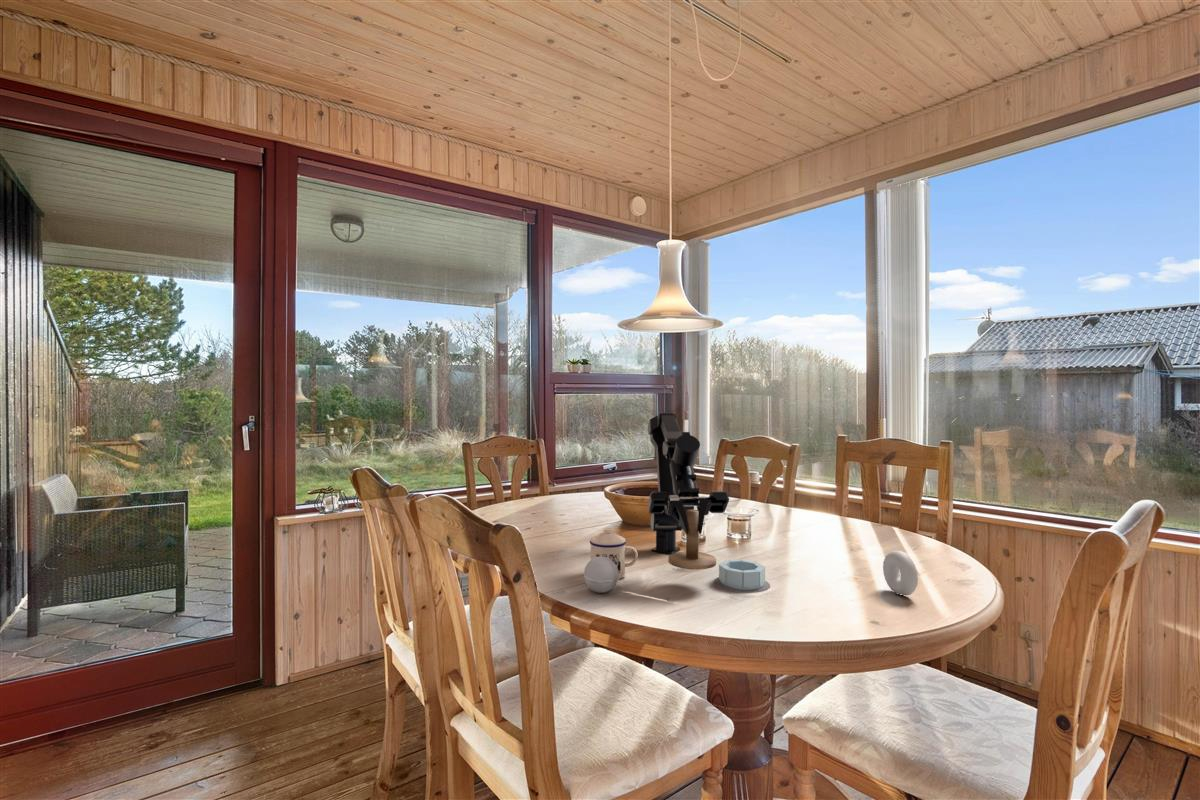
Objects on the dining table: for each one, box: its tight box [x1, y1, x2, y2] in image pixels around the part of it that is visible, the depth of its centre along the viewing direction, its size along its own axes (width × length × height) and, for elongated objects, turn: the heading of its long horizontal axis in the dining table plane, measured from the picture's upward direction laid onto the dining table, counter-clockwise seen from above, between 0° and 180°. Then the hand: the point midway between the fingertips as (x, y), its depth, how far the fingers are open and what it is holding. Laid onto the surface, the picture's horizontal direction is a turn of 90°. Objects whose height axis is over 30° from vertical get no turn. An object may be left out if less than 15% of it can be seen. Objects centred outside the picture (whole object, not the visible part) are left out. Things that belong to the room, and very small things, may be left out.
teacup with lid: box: [589, 527, 639, 580], centre depth 141 cm, size 12×9×12 cm
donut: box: [882, 549, 919, 596], centre depth 128 cm, size 10×3×10 cm, turn 6°
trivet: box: [713, 576, 771, 594], centre depth 135 cm, size 13×13×1 cm
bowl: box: [718, 559, 766, 590], centre depth 135 cm, size 10×10×4 cm
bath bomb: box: [583, 556, 619, 594], centre depth 130 cm, size 8×8×8 cm
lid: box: [667, 509, 717, 570], centre depth 131 cm, size 11×11×12 cm
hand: (693, 533), depth 130 cm, fingers closed on lid, 3 cm apart
